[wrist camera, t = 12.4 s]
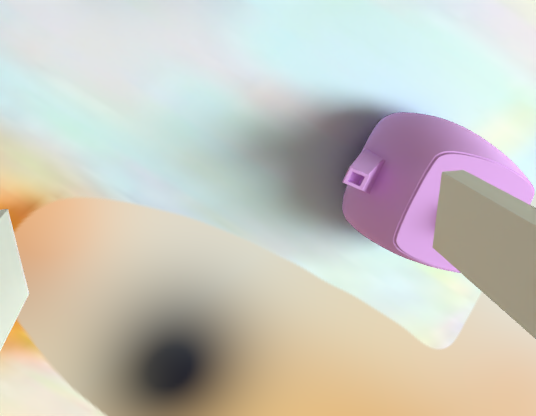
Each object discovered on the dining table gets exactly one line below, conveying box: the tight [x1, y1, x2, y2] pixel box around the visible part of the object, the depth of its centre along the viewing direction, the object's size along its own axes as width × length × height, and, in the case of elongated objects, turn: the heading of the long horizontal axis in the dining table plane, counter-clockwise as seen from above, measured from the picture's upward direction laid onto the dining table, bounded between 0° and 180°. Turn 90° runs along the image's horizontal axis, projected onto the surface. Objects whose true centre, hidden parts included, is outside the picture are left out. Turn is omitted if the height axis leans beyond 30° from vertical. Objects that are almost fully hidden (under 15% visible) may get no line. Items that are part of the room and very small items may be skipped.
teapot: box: [342, 112, 534, 273], centre depth 40 cm, size 20×12×13 cm, turn 68°
